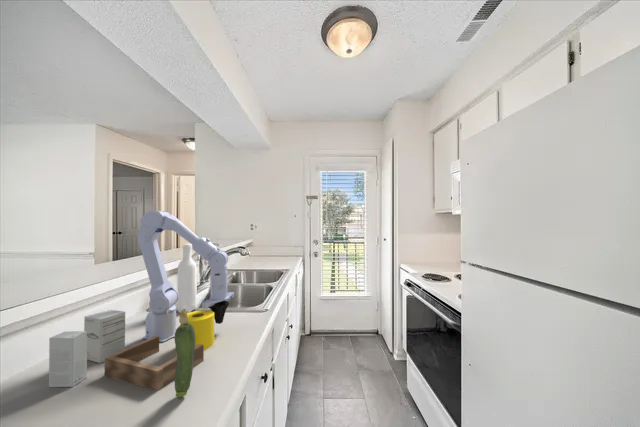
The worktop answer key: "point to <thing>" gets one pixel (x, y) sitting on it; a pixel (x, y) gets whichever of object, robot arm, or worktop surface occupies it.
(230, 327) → the worktop surface
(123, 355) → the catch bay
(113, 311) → the supplement box
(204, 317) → the tape roll
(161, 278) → the robot arm
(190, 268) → the bottle
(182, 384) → the vegetable
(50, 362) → the skincare box
